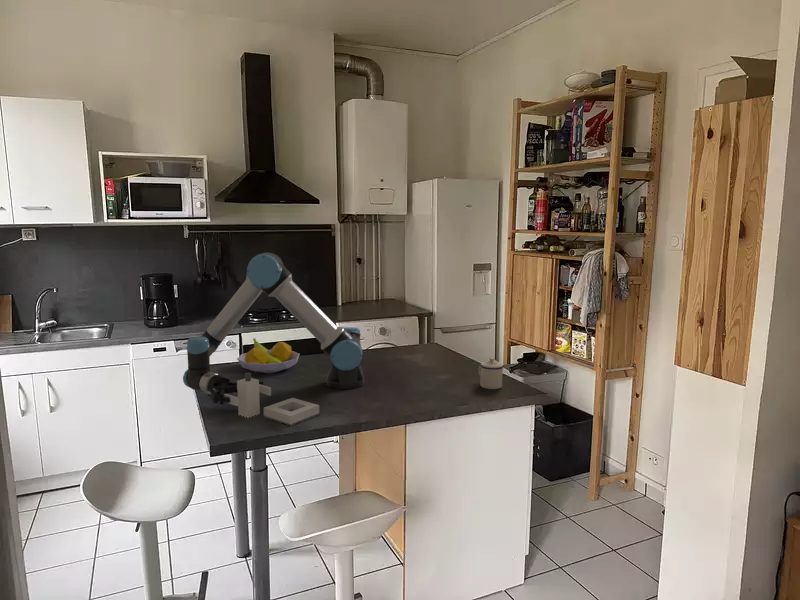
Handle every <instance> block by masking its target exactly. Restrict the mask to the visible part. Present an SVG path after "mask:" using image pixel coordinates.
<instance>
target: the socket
mask: <svg viewBox="0 0 800 600" xmlns="http://www.w3.org/2000/svg"><path fill="white" fill-rule="evenodd" d="M317 415H319V416H320V405H319V404H316V403H312V402H309V401H307V400H306V401H305V400H302V399H298V398H295V397H291V398H288V399H286V400H285V399H284V400H282V401H279V402H276V403H272V404H270V405H268V406H264V407H263V418H264V419H266V418H267V420H269V419H270V421H272V420H274V421H273V422H275V421H277V422H276V423H278V422H280V423H279V424H281V423H284V424H287V425H290V426H291V425H294V424H296V423H299V422H301V423H303V422H302V421H304V420H306V419H309V418H311V417H314V416H316V417H318V416H317ZM314 418H315V417H314ZM311 419H312V418H311ZM309 420H310V419H309ZM306 421H307V420H306ZM304 422H305V421H304ZM284 424H283V425H284ZM299 424H300V423H299ZM287 425H286V426H287ZM296 425H297V424H296ZM290 426H289V427H290ZM294 426H295V425H294ZM291 427H292V426H291Z"/></svg>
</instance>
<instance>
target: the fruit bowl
mask: <svg viewBox="0 0 800 600" xmlns="http://www.w3.org/2000/svg"><path fill="white" fill-rule="evenodd" d="M252 340H253V348H252V349H250V350H249V351H248V352H245V353H241V354H240V355H239V356H238V357H237V358H236V359H237V362H239V364H240V366H241V368H243V369H246V370H249V371H251V372H253V371H254V372H253V373H262V372H263V373H264V374H275V373H277V372H281V371H283V370H286V369H289V368H291V367H293V366H295V365H296V364H297V363H298V360H299V357H300V353H298V352H296V351H293V350H292V346H291V345H290V344H288V343H286V341H285V342H284V341H280V342H277V343H275V345H273V347H272V348H270V349H268V348H267V347H265V346H264V345H262V344H261V343H260V342H258V341H257V339H256V337H254V338H252ZM263 373H262V374H263Z"/></svg>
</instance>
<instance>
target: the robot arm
mask: <svg viewBox="0 0 800 600" xmlns="http://www.w3.org/2000/svg"><path fill="white" fill-rule="evenodd" d="M245 276H246V277H245V280H244V282H243V283H242V284H241V286H240V287H239V288H238V289H237V291H236V292H235V293H234V294H233V296H232V297H231V298H230V299H229V301H228V302H227V303H226V304H225V306H223V308H222V310H221V311H220V312H219V313H218V315H216V317H215V318H214V319H213V320H212V322H211V323H210V324H209V326H208V327H207V328H206V330H205V331H204V332H203V333H202V334H201V336H192V337H189V338H188V339H187V341H186V353H187V369H186V371H185V372H184V374H183V375H182V381H183V383H184V385H185V386H186V387H188V388H190V389H192V390H195V391H200V392H202V393H205V394H207V396H208V397H209V398H211V400H212V402H213V404H218V402H219V405H224V403H225V404H229V405H232V406H236V407H238V406H239V402H238V396H235V395H231V394H233V393H238V389H237V381H234V380H233V381H231V380H230V378H229V377H228V376H226V375H223V374H218V373H215V372H211V366H210V365H211V363H210V361H211V360H210V357H211V356H212V355H213V354H214V353H215V352H217V351H216V350H218V348H219V346H220V345H221V344H222V343H223V341H224V340H225V339H226V337H227V336H228V335H230V333H231V331H232V330H233V329H234V328H235V327H236V325H237V324H238V323H239V321H240V320H241V319H242V318H243V316H244V315H245V314H246V313H247V311H248V310H249V309H250V307H252V305H253V304H254V302H256V300H257V299H258V298H259V296H260V295H261V294H262V293H265V294H266V296H267V297H274V298H276V299H277V301H278V302H279V303H281V305H282V306H283V307H285V309H287V311H288V312H289V313H290V314H292V316H294V318H295V319H296V320H297V321H299V322H300V324H302V326H303V327H304V328H306V330H307V331H308V332H310V334H311V335H313V337H314V338H315V339H316V340H317V341H318V342H319V343H320V349H321V350H322V351H323V353H324V354H326V356H327V357H328V358H329V359H330V369H329V372H328V373H327V377H326V385H327V387H330V388H333V389H336V390H338V389H340V390H350V389H352V390H353V389H357V388H360V387H362V386H364V385H365V375H364V371H363V370H362V366H361V362H362V359H363V352H364V351H363V348H362V344H361V330H360V328H358V327H349V326H348V327H346V326H337V324H335V323H334V322H333V320H332V319H330V318H329V316H328V315H327V314H326V313H325V312H324V311H323V310H322V309H321V308H319V306H318V305H317V304H316V303H315V302H314V301H313V300H312V299H311V298H310V297H309V296H308V295H307V294H306V293H305V292H304V291H303V290H302V289H301V288H300V287H299V286H298V285H297V284H296V283H295V282H294V281H293V274H292V273H291V272H290V270H289V269H287V268H286V267H285V265H284V263H283V261H282V259H281V257H280V256H278V254H275V253H274V252H270V251H269V252H268V251H267V252H262V253H259V254H256V255H254V256H253V257H252V258H251V260H250V261H249V262H248V264H247V267H246V275H245ZM259 394H263V395H266V396H269V397H270V396H272V387H270V386H268V385H264V381H260V380H259Z"/></svg>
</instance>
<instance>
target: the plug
mask: <svg viewBox="0 0 800 600" xmlns="http://www.w3.org/2000/svg"><path fill="white" fill-rule="evenodd" d="M251 375H252V373H251V372H245V373H244V378H243V379H242V378H241V379H238V380H237V381H236V382H237V390H238V392H237V397H238V402H239V406H237V411H238V412H237V413H238V416H240V415H241V417H243V416H244V417H243V418H246V417H247V418H246V419H250V418H252V416H253V417H256V416H259V415H260V414H261V410H260V409H261V405H260V393H259V381H260V379H256V378H253V377H252V376H251ZM258 414H259V415H258ZM255 415H256V416H255ZM249 417H250V418H249Z"/></svg>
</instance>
